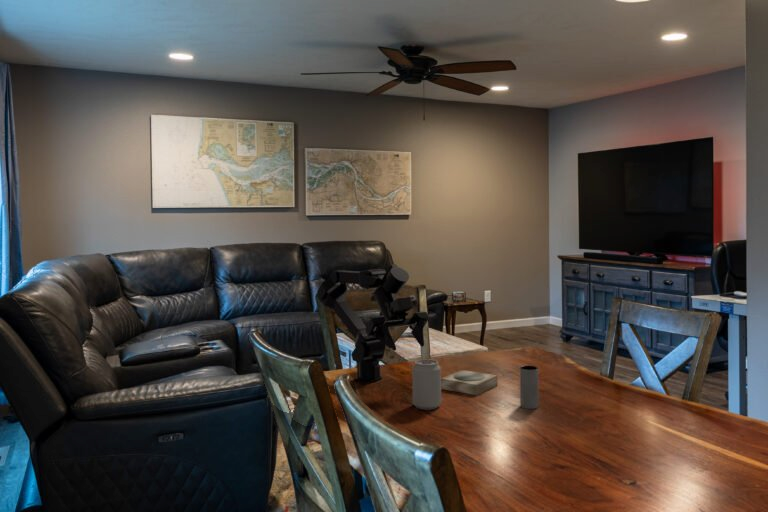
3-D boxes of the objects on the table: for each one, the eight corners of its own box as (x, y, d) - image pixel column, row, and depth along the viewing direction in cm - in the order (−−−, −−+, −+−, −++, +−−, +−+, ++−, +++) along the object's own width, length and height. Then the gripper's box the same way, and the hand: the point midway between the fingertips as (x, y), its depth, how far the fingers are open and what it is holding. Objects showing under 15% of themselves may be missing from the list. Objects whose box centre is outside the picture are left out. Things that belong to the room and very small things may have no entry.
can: (441, 402, 165) (440, 358, 164) (441, 410, 158) (440, 364, 157) (413, 401, 166) (412, 358, 165) (412, 410, 158) (411, 364, 158)
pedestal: (440, 388, 178) (440, 377, 178) (462, 379, 188) (462, 369, 187) (477, 395, 171) (477, 384, 171) (497, 385, 180) (497, 374, 180)
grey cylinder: (518, 407, 159) (518, 368, 158) (523, 402, 163) (522, 364, 162) (535, 410, 157) (535, 370, 156) (540, 405, 161) (540, 366, 160)
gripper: (369, 288, 169) (390, 334, 161) (425, 284, 179) (448, 327, 170) (356, 313, 177) (376, 358, 168) (411, 307, 186) (432, 350, 177)
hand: (409, 347), depth 171 cm, fingers open, 9 cm apart
